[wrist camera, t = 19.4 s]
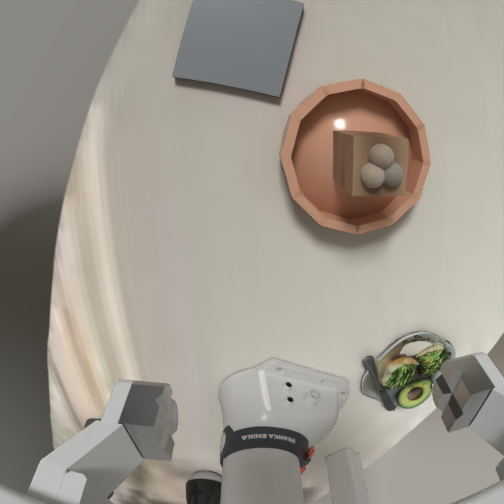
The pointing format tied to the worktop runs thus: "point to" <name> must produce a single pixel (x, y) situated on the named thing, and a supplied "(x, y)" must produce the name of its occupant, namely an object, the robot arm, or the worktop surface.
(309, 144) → the bowl
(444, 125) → the worktop surface
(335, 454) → the milk
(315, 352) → the worktop surface
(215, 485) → the black egg-shaped dome
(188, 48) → the parts tray
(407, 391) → the salad plate
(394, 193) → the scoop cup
